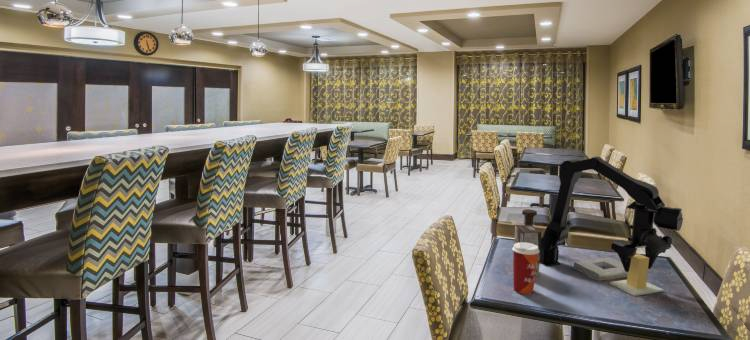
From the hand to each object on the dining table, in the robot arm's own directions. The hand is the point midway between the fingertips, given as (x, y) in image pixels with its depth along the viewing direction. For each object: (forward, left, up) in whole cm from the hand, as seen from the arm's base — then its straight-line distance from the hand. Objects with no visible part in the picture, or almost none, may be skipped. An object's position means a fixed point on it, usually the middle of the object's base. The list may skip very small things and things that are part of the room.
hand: (637, 270), depth 157 cm
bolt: (-9, +46, -6) cm, 47 cm away
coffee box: (-27, +22, -6) cm, 35 cm away
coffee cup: (-37, +9, -6) cm, 39 cm away
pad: (0, 0, -6) cm, 6 cm away
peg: (0, 0, -5) cm, 5 cm away
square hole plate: (0, +14, -6) cm, 15 cm away
